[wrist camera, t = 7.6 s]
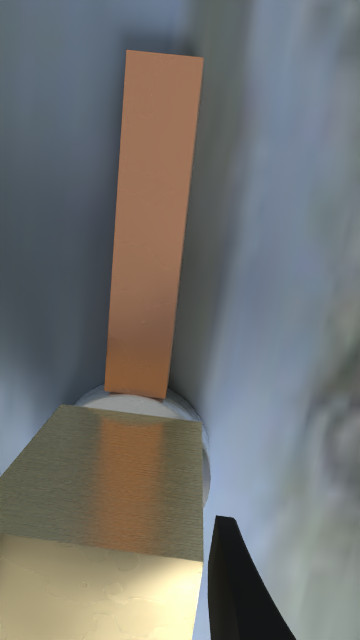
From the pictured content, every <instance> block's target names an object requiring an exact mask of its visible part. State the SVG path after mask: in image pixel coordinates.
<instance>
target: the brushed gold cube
mask: <svg viewBox="0 0 360 640" xmlns="http://www.w3.org/2000/svg"><path fill="white" fill-rule="evenodd" d="M203 562H204V558H203V477H202V422H198V421H190V420H183V419H175V418H167V417H159V416H151V415H143V414H135V413H128V412H120V411H112V410H104V409H96V408H88V407H80V406H73V405H65V404H61V405H60V406H59V407H58V408H57V409H56V411H55V412H54V413H53V414H52V416H51V417H50V418H49V419H48V420H47V422H46V423H45V424H44V425H43V426H42V428H41V429H40V430H39V431H38V432H37V434H36V435H35V436H34V437H33V438H32V440H31V441H30V442H29V443H28V444H27V446H26V447H25V448H24V449H23V450H22V452H21V453H20V454H19V455H18V456H17V458H16V459H15V460H14V461H13V463H12V464H11V465H10V466H9V467H8V469H7V470H6V471H5V472H4V473H3V475H2V476H1V477H0V640H191V639H192V633H193V626H194V620H195V614H196V607H197V601H198V594H199V588H200V582H201V575H202V569H203Z"/></svg>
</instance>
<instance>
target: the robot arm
mask: <svg viewBox="0 0 360 640" xmlns="http://www.w3.org/2000/svg"><path fill="white" fill-rule="evenodd" d="M208 608H209V621H210V633H211V640H296V638H295V637H294V635H293V634H292V632H291V631H290V629H289V627H288V626H287V624H286V622H285V621H284V619H283V617H282V616H281V614H280V612H279V611H278V609H277V607H276V605H275V603H274V602H273V600H272V598H271V596H270V594H269V593H268V591H267V589H266V587H265V585H264V583H263V581H262V579H261V577H260V575H259V573H258V571H257V569H256V567H255V565H254V563H253V561H252V559H251V556H250V554H249V552H248V550H247V547H246V545H245V543H244V540H243V538H242V535H241V533H240V530H239V528H238V525H237V522H236V520H235V519H234V518H231V517H224V516H217V515H216V518H215V524H214V530H213V536H212V542H211V549H210V555H209V561H208Z"/></svg>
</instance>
